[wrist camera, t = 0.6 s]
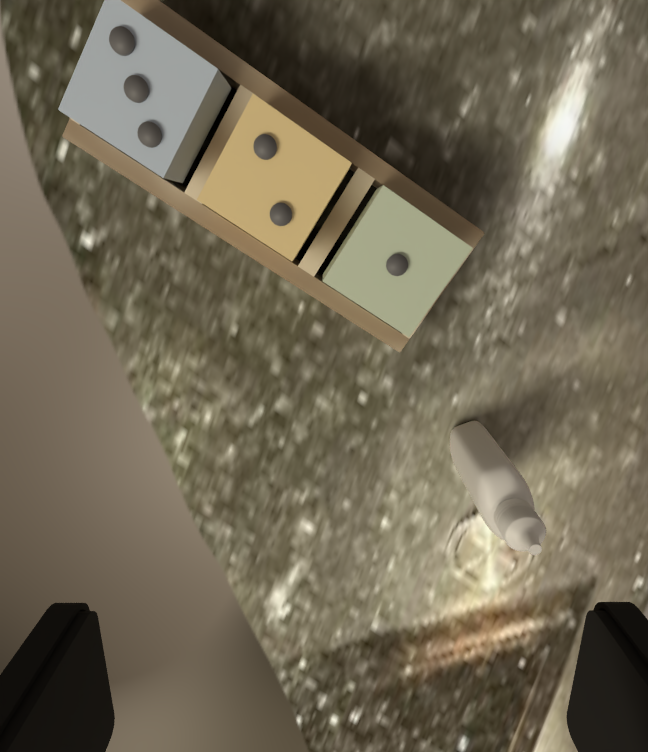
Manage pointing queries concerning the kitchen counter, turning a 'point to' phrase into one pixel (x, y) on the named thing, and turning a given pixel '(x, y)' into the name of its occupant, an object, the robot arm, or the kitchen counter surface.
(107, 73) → the tile three blue
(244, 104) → the tray
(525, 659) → the kitchen counter surface
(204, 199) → the tile two ochre
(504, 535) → the eye dropper bottle
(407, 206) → the tile one sage
